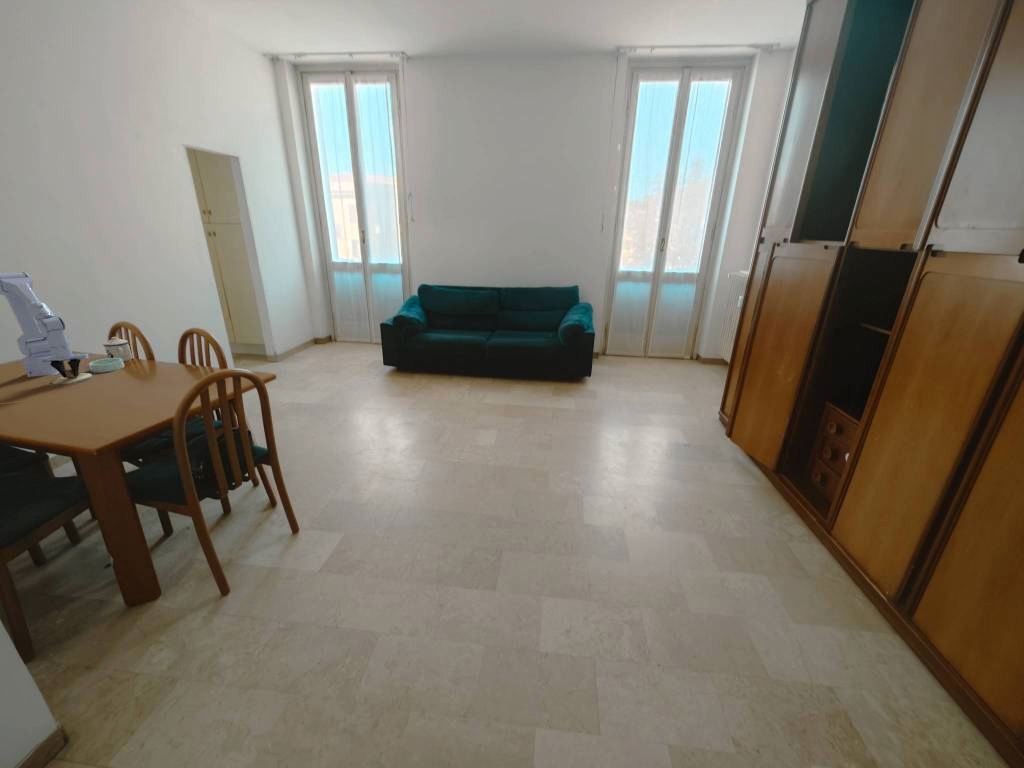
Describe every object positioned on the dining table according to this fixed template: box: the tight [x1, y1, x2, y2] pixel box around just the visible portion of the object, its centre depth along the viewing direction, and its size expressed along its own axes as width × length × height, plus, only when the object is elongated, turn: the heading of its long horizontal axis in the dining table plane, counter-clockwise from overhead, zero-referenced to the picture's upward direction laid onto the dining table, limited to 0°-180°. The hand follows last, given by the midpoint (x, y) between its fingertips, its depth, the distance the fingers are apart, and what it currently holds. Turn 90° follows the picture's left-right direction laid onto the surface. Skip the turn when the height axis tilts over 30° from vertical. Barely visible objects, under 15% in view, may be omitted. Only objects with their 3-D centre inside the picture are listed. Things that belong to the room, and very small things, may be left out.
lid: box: [50, 368, 93, 386], centre depth 172 cm, size 12×12×4 cm
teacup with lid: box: [103, 336, 134, 362], centre depth 197 cm, size 12×9×12 cm
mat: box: [46, 373, 97, 387], centre depth 172 cm, size 12×12×1 cm
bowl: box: [88, 358, 125, 373], centre depth 186 cm, size 11×11×4 cm
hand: (71, 376), depth 172 cm, fingers closed on lid, 3 cm apart
